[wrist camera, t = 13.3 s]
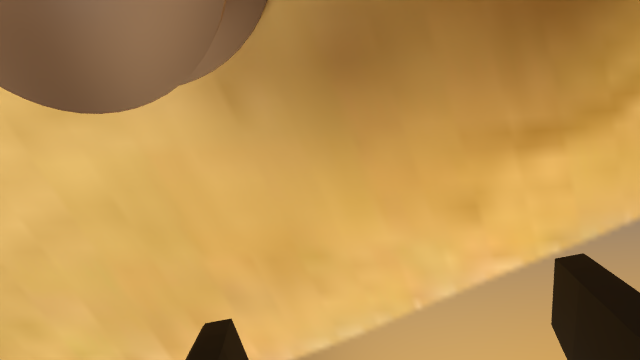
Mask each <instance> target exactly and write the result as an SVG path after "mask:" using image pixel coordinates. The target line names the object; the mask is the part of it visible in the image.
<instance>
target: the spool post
mask: <svg viewBox="0 0 640 360" xmlns="http://www.w3.org/2000/svg"><path fill="white" fill-rule="evenodd" d="M266 2H267V0H0V87H2V88H4V89H5V90H7V91H9V92H11V93H14V94H16V95H18V96H20V97H22V98H24V99H27V100H29V101H32V102H35V103H37V104H40V105H43V106H47V107H51V108H55V109H58V110H62V111H69V112H76V113H91V114H103V113H114V112H121V111H125V110H130V109H134V108H138V107H140V106H143V105H146V104H148V103H151V102H153V101H155V100H157V99H159V98H161V97H163V96H164V95H166V94H168V93H169V92H171V91H172V90H173V89H175V88H176V87H177V86H179V85H183V84H186V83H188V82H191V81H194V80H196V79H199V78H201V77H203V76H205V75H206V74H208V73H210V72H212V71H214V70H215V69H217V68H218V67H219V66H221V65H222V64H223V63H225V62H226V61H227V60H229V59H230V58H231V57H232V56H233V55H234V54H235V53H236V52H237V51H238V50H239V49H240V48H241V46H242V45H243V44H244V42H245V41H246V40H247V39H248V37H249V36H250V35H251V33H252V31H253V30H254V28H255V26H256V24H257V23H258V21H259V19H260V17H261V14H262V12H263V9H264V7H265V5H266Z"/></svg>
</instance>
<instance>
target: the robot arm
mask: <svg viewBox="0 0 640 360" xmlns="http://www.w3.org/2000/svg"><path fill="white" fill-rule="evenodd" d="M551 324H552V327H553V329H554V331H555V334H556V336H557V338H558V340H559V343H560V345H561V347H562V349H563V351H564V353H565V356H566V357H567V360H640V293H639V292H638V291H637V290H635V289H634V288H632V287H631V286H629V285H628V284H627V283H625V282H624V281H622V280H621V279H620V278H618V277H617V276H615V275H614V274H612V273H611V272H609V271H608V270H607V269H605V268H604V267H602V266H601V265H600V264H598V263H597V262H595V261H594V260H592V259H591V258H590V257H588V256H587V255H585V254H578V255H573V256H567V257H562V258H556V259H555V268H554V286H553V304H552V323H551ZM186 360H248V357H247V355H246V352H245V350H244V348H243V345H242V343H241V340H240V338H239V335H238V333H237V331H236V328H235V326H234V323H233V321H232V319H227V320H221V321H216V322H211V323H205V325H204V326H203V327H202V329H201V331H200V333H199V335H198V337H197V339H196V341H195V342H194V344H193V346H192V348H191V350H190V352H189V354H188V356H187V358H186Z"/></svg>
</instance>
